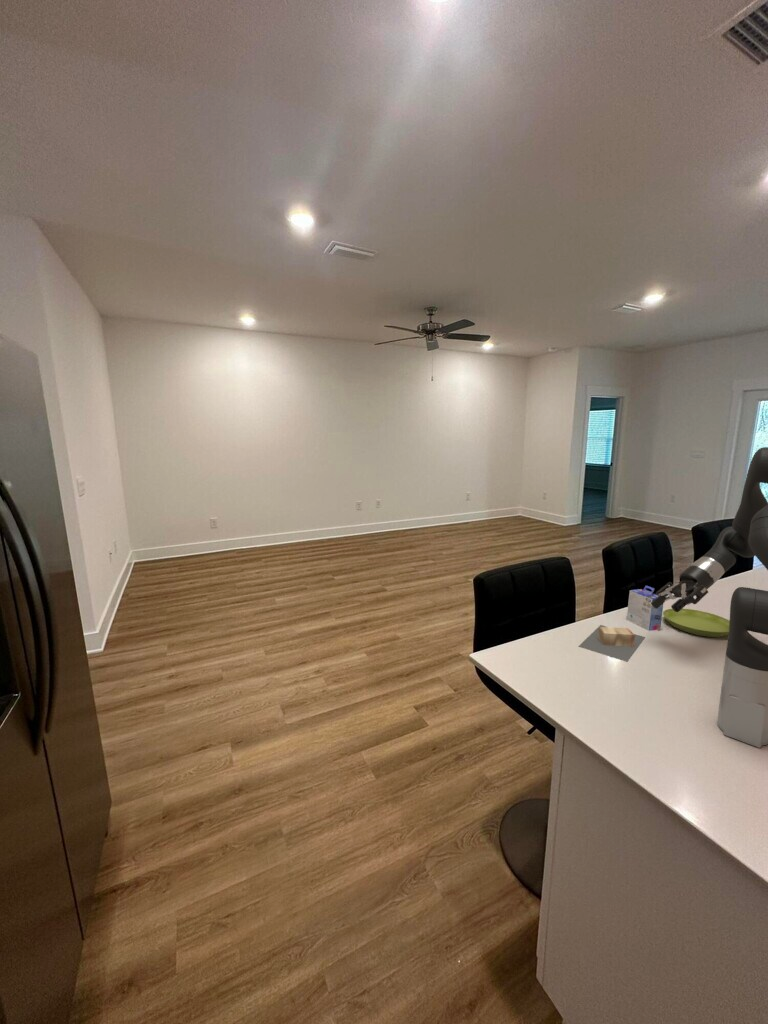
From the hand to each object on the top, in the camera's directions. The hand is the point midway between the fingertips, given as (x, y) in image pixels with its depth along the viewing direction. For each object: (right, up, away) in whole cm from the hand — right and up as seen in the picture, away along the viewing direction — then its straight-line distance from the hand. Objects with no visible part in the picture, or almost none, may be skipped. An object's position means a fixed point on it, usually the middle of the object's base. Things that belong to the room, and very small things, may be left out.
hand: (663, 607), depth 123 cm
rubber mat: (-9, -14, +11) cm, 20 cm away
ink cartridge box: (+9, -12, +24) cm, 29 cm away
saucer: (+28, -13, +23) cm, 38 cm away
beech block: (-13, -12, +11) cm, 21 cm away
